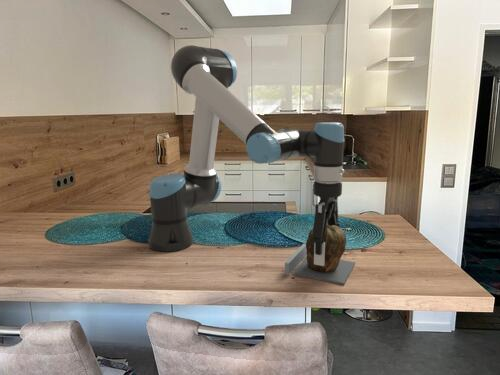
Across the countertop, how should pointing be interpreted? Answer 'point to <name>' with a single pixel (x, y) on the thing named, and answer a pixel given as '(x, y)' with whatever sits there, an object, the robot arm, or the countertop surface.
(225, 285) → the countertop surface
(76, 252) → the countertop surface
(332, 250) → the brown rounded lump
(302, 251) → the acrylic wall
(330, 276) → the pad
